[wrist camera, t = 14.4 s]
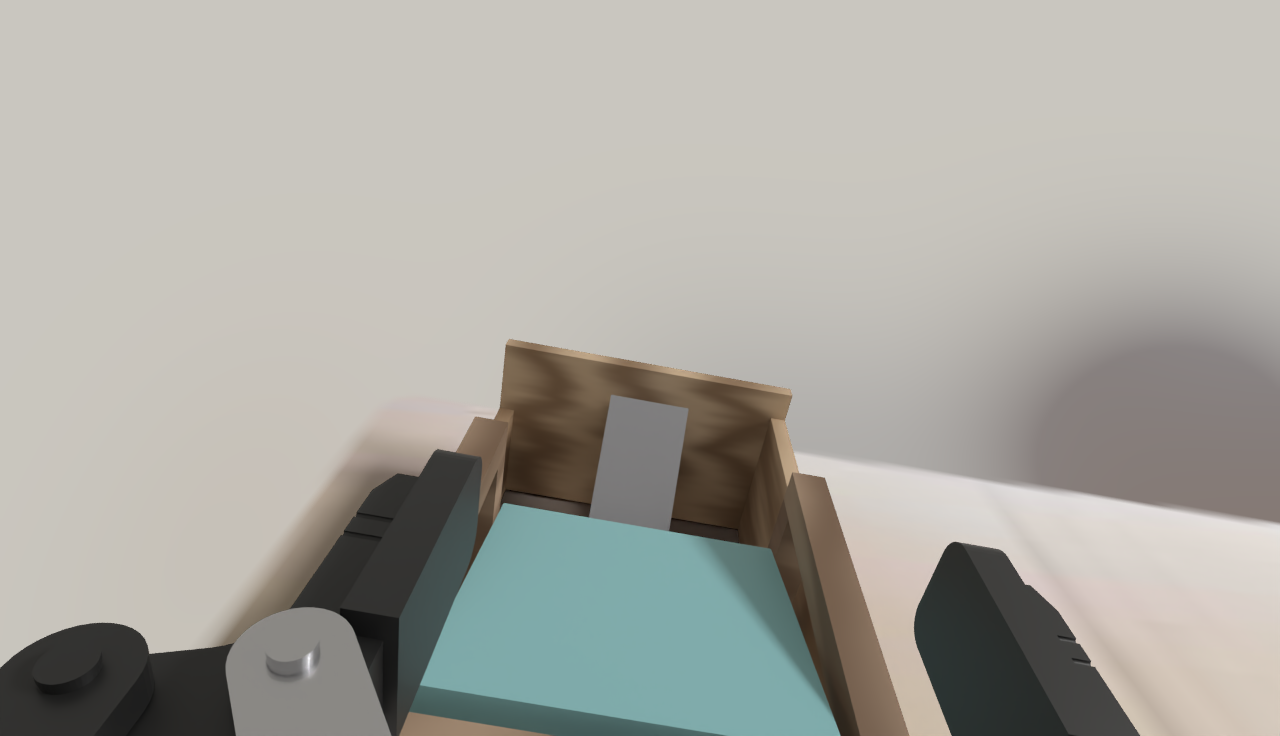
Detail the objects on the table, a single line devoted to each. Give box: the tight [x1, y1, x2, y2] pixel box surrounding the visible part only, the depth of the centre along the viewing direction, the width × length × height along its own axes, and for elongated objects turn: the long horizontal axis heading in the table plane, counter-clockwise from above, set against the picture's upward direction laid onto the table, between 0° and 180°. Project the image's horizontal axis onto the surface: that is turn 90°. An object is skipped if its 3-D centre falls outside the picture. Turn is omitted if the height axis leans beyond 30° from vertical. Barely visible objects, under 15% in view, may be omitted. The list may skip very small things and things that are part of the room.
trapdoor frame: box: [399, 339, 909, 736], centre depth 35 cm, size 20×33×16 cm, turn 177°
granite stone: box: [589, 395, 689, 531], centre depth 45 cm, size 5×5×11 cm
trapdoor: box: [409, 503, 841, 736], centre depth 24 cm, size 12×12×1 cm
